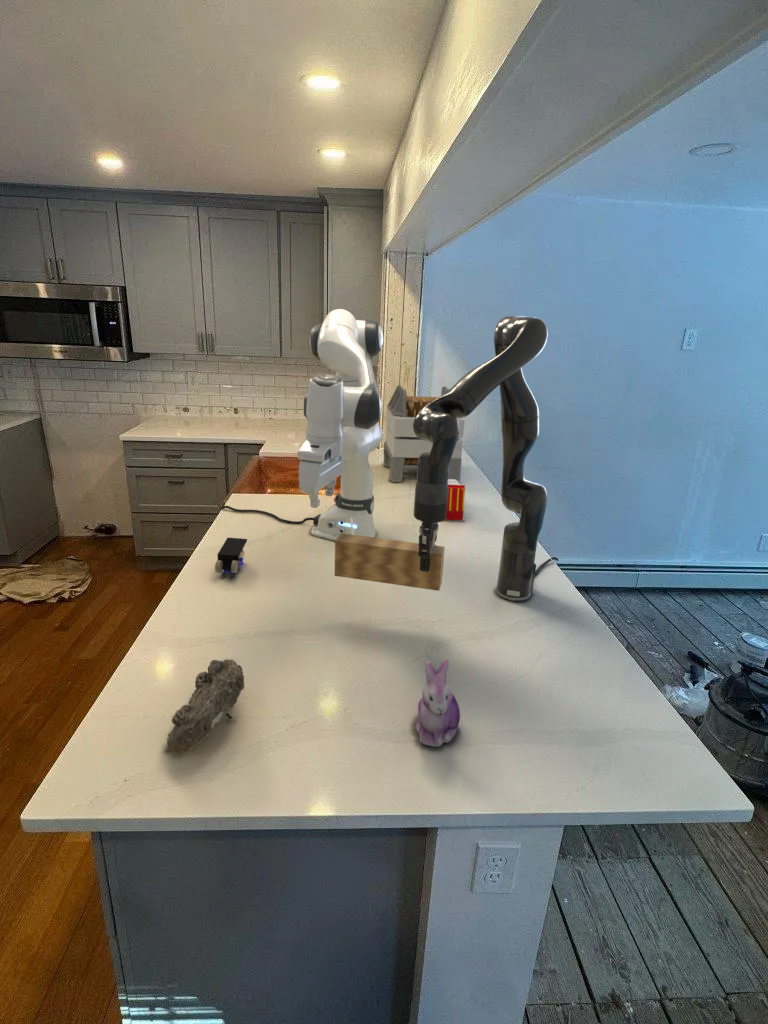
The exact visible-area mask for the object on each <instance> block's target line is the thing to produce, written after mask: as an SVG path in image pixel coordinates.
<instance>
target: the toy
mask: <svg viewBox="0 0 768 1024" xmlns="http://www.w3.org/2000/svg"><path fill="white" fill-rule="evenodd" d="M465 494H466V485H465V484H461V482H458V481H457V480H456V479H448V500H447V513H446V519H445V520H444V521H464V520H463V519H464V511H465V510H464V509H465Z"/></svg>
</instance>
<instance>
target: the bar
mask: <svg viewBox="0 0 768 1024" xmlns="http://www.w3.org/2000/svg"><path fill="white" fill-rule="evenodd" d="M445 550H446V547H445V546H442V545H436V544H435V545H434V547H432V549H431V557H430V569H429V571H428V572H424V571H420V558H421V557H419V555H418V553H419V542H411V541H403V540H396V539H395V540H394V539H389V538H380V537H365V536H358V535H350V534H342V533H341V534H340V535H339V537H338V538H337V539H336V540H334V577H339V578H340V577H341V578H346V579H347V578H348V579H354V580H359V581H360V580H362V581H369V582H376V583H380V584H381V583H383V584H389V585H395V586H404V587H410V588H417V589H423V590H429V591H430V590H431V591H438V592H439V591H440V590H441V586H442V582H443V574H444V573H443V572H444V561H445ZM423 552H427V550H423Z"/></svg>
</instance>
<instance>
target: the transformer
mask: <svg viewBox="0 0 768 1024" xmlns="http://www.w3.org/2000/svg"><path fill="white" fill-rule="evenodd" d="M450 389H451V388H447V386H442V387H441V392H440V393H441V394H440V396H442V395H444V394H446V393H447V392H448V391H449V390H450ZM407 394H408V393H407V390H406V389H404V388H403V387H402V385H399V384H398V385H397V386H396V388H395V390H394V392H393V394H392V395H391V398H390V400H389V402H388V404H387V405H386V413H385V414H386V415H385V423H386V428H385V438H384V442H383V466H384V467H388V468H389V475H388V476H389V477H388V478H389V480H390V482H391V483H402V482H403V475H404V469H405V466H406V467H407V466H411V467H412V466H413V467H415V466H416V467H418V459H419V456H420V455H421V454H422V453H425V452H430V451H431V449H432V445H433V443H432V442H428V441H425V440H422V439H420V438H418V437H417V436H416V435H415V433H414V431H413V423H414V419H415V417H416V415H417V414H418V413H419V411H420V410H421V409H422V408H424V407H425V406H426V405H428V404H429V403H431V402H432V401H434V400H436V399H437V398H439V397H440V396H415V395H414V396H413V395H412V396H411V395H407ZM456 419H457V420H458V423H459V437H458V440H457V443H456V446H455V449H454V452H453V455H452V457H451V460H450V463H449V473H448V479H456V480H457V481H458V482H459V483H461V472H462V461H463V460H462V453H463V442H464V441H463V440H462V439H463V438H464V431H465V430H464V429H465V419H464V418H456Z"/></svg>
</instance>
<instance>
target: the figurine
mask: <svg viewBox="0 0 768 1024" xmlns="http://www.w3.org/2000/svg"><path fill="white" fill-rule="evenodd" d="M449 669H450V660H449V659H448V658H445V659H444V660H443V661H442V663H441V664H440V666H439V668H438V670H437V671H436V669H435V667H434V665H433V663H432V662H431V661H430V660H426V662H425V669H424V670H425V680H426V681H425V685H424V687H423V690H422V693H421V698H420V699H419V701H418V706H417V711H418V713H417V718H416V722H415V730H416V732H417V734H418V737H419V741H420V743H421V744H423V745H425V746H429V747H435V748H436V747H441V746H442V745H443V744H445V743H446V744H447V743H450V742H451V741H452V740H453V738H454V736H455V735H456V734H457V732H458V727H459V724H460V721H461V712H460V710H461V709H460V706H459V703H458V700H457V698H456V697H455V695H454V694H453V692H452V689H451V687H450V685H449V684H448V674H449Z"/></svg>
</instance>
